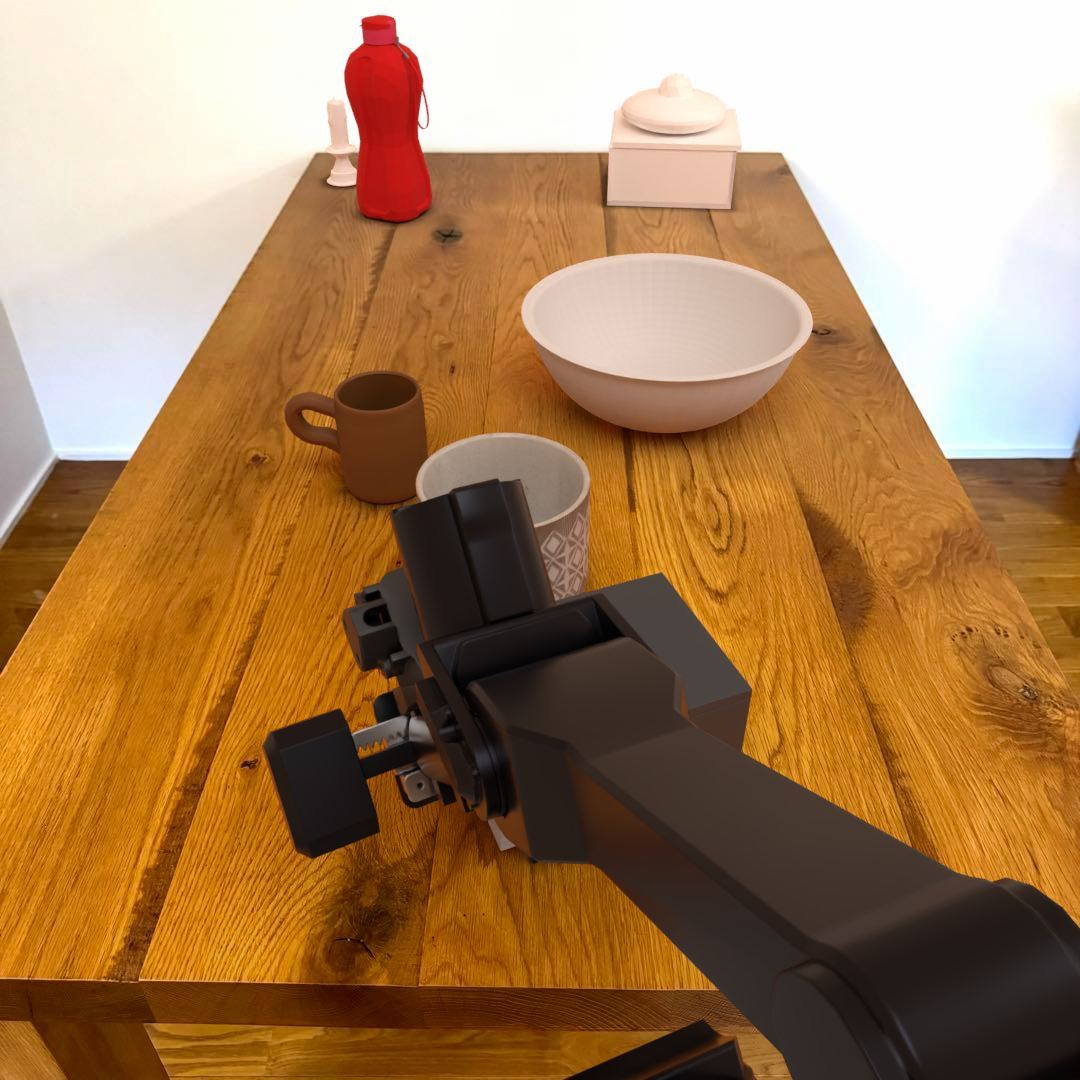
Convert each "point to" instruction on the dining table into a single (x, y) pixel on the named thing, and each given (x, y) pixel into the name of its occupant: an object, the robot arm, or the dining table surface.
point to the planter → (526, 493)
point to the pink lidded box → (673, 149)
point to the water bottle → (387, 123)
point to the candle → (340, 146)
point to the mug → (370, 432)
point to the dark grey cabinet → (685, 654)
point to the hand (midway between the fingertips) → (426, 729)
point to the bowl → (665, 337)
